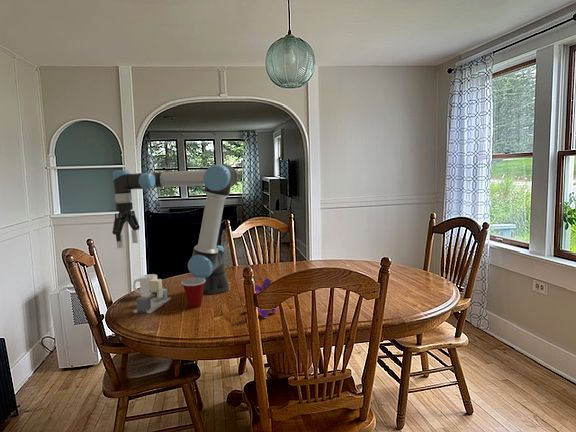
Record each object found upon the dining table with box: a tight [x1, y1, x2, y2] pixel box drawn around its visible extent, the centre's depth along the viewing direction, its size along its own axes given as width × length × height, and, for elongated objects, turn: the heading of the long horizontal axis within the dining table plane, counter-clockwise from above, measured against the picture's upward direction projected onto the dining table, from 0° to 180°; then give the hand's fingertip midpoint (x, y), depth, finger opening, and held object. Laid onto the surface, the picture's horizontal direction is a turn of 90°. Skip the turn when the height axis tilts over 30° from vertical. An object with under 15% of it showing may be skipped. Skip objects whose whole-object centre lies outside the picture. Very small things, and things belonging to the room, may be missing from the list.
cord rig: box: [133, 288, 172, 314], centre depth 199 cm, size 20×8×6 cm, turn 170°
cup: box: [132, 273, 158, 297], centre depth 215 cm, size 8×12×10 cm
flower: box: [244, 277, 277, 319], centre depth 184 cm, size 15×15×14 cm
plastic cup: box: [180, 276, 206, 309], centre depth 196 cm, size 11×11×12 cm
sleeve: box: [149, 278, 164, 300], centre depth 203 cm, size 4×5×9 cm
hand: (128, 245), depth 212 cm, fingers open, 13 cm apart
